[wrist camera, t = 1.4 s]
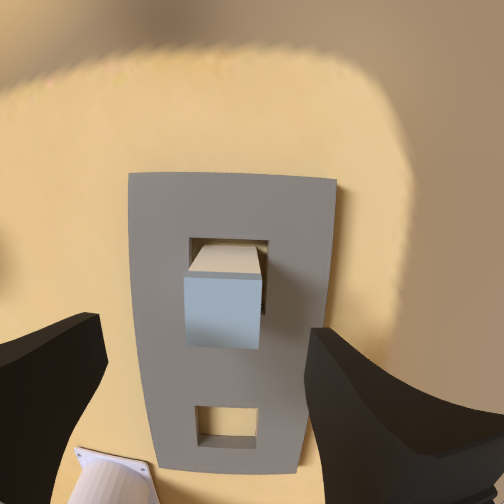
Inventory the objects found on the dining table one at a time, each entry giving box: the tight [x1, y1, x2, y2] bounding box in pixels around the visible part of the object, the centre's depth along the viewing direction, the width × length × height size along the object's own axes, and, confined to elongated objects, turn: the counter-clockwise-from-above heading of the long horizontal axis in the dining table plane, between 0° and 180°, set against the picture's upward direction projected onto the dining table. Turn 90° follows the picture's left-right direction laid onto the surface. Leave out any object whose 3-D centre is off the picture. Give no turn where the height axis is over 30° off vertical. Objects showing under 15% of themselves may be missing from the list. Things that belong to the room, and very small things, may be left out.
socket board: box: [128, 172, 337, 475], centre depth 21 cm, size 24×12×2 cm, turn 178°
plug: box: [184, 245, 262, 349], centre depth 17 cm, size 3×3×7 cm
